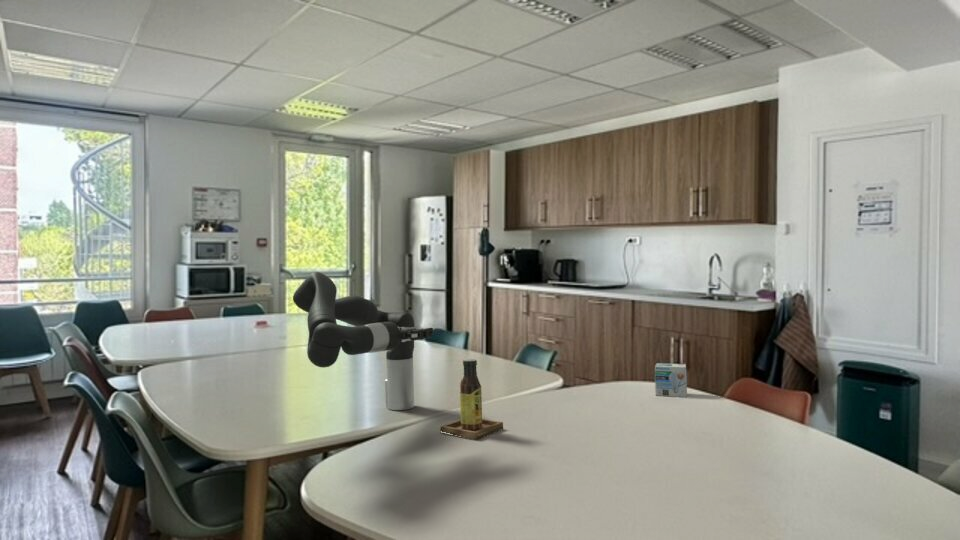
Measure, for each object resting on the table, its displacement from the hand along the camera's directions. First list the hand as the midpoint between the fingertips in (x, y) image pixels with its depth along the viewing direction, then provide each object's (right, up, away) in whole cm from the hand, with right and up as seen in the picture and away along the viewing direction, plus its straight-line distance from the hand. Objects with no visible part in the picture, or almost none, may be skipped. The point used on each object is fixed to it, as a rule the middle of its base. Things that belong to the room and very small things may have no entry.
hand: (421, 331), depth 157 cm
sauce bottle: (+14, -29, +4) cm, 33 cm away
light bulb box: (+86, -28, +43) cm, 100 cm away
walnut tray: (+14, -30, +4) cm, 33 cm away
